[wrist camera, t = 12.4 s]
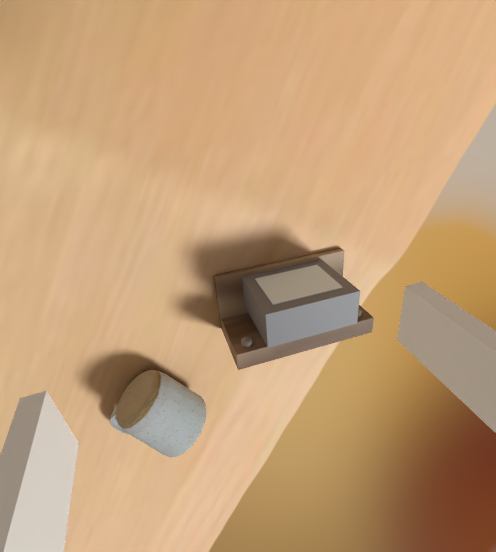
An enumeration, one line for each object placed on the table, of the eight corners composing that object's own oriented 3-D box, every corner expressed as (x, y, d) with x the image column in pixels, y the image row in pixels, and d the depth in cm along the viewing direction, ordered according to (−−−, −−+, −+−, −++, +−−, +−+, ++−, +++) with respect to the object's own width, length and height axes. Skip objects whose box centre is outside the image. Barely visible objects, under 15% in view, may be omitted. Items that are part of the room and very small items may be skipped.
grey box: (241, 276, 38) (265, 313, 32) (321, 258, 41) (360, 290, 34) (244, 306, 40) (268, 347, 34) (320, 287, 43) (357, 323, 36)
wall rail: (213, 275, 38) (230, 310, 32) (340, 248, 42) (378, 274, 35) (221, 328, 42) (238, 369, 35) (337, 299, 45) (371, 332, 39)
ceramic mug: (155, 353, 41) (159, 402, 34) (202, 383, 45) (213, 432, 38) (93, 408, 42) (85, 466, 35) (144, 432, 46) (146, 488, 39)
